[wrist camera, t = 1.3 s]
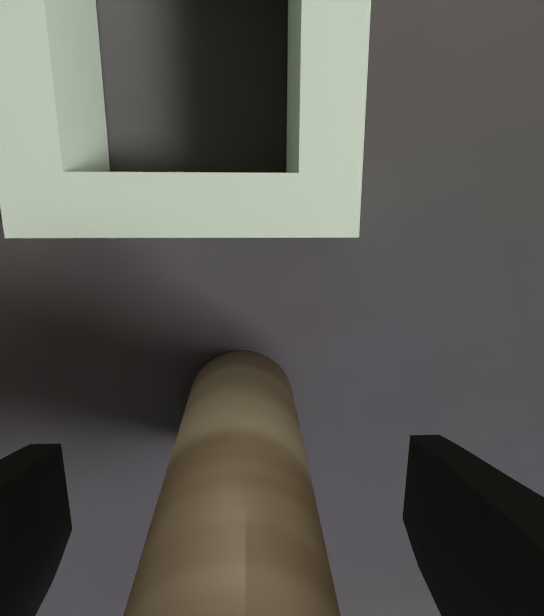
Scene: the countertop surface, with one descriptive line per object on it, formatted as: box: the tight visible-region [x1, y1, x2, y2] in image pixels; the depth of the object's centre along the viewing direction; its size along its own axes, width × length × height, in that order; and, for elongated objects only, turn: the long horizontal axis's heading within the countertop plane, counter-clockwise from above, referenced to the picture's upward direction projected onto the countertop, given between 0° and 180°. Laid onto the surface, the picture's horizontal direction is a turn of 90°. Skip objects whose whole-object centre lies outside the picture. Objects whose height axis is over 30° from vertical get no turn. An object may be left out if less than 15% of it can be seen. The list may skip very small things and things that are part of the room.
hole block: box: [0, 0, 371, 238], centre depth 9 cm, size 7×7×3 cm
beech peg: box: [124, 351, 340, 616], centre depth 9 cm, size 3×3×9 cm
